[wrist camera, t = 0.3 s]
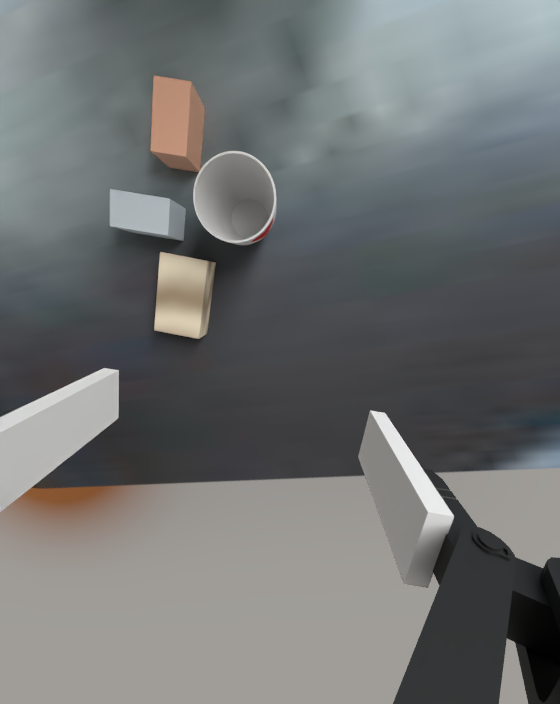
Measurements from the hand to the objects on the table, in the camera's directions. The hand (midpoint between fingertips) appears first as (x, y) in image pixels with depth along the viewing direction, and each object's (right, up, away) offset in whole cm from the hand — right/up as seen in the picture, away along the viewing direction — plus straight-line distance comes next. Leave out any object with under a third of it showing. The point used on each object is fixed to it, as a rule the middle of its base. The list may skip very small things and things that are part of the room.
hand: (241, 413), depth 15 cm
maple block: (-11, +11, +26) cm, 30 cm away
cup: (-2, +21, +23) cm, 31 cm away
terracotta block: (-10, +30, +21) cm, 38 cm away
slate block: (-14, +21, +23) cm, 34 cm away
